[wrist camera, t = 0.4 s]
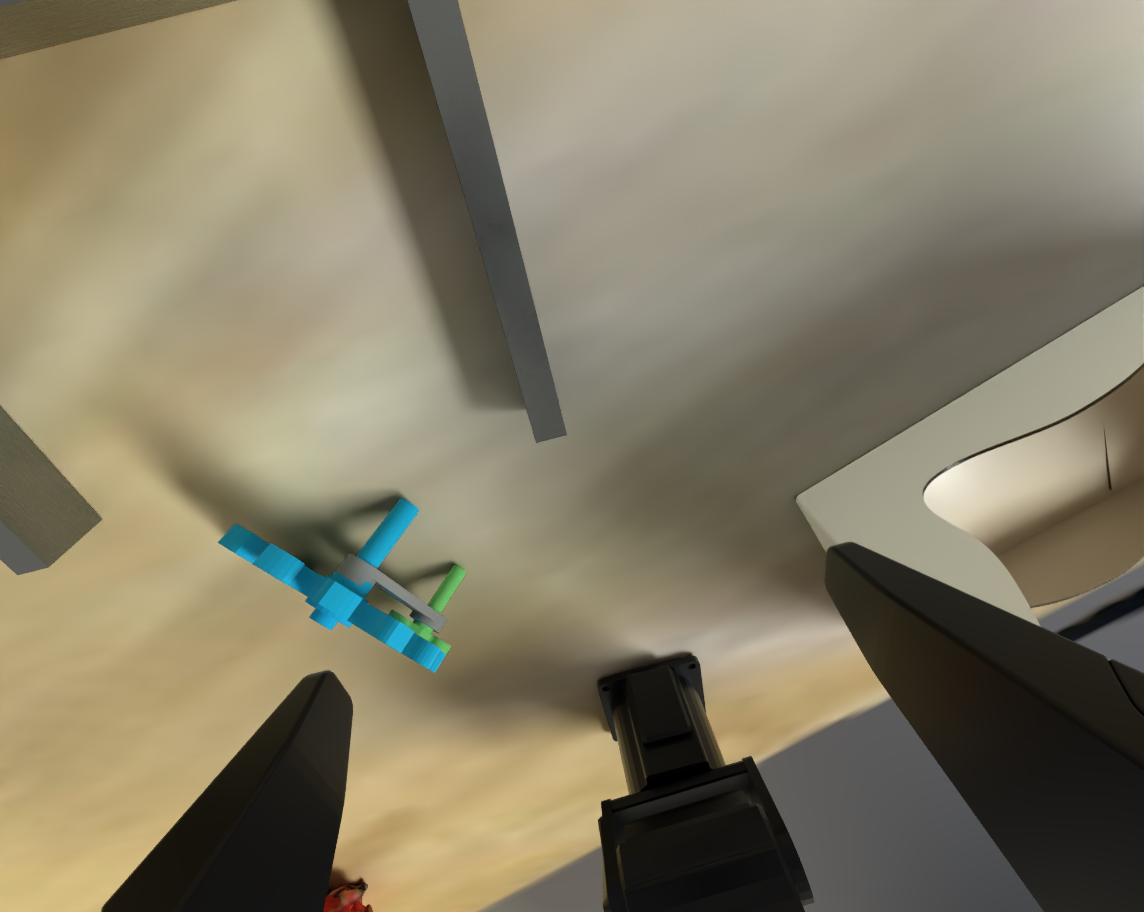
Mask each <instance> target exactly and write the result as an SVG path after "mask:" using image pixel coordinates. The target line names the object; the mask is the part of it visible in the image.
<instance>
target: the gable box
mask: <svg viewBox="0 0 1144 912" xmlns="http://www.w3.org/2000/svg"><path fill="white" fill-rule="evenodd" d="M796 502H797V504H798V506H799V507H800V509H801V511H802V512H803V514H804V516H805V517H806V519H807V521H808V523H809V524H810V526H811V528H812V529H813V531H814V533H815V535H816V536H817V538H818V540H819V541H820V543H821V545H822V547H823V548H824V550H825V552H826V551H827V549H828V548H829V547H830V546H833V545H837V544H841V543H845V542H854V543H857V544H859V545H861V546H864V547H866V548H868V549H870V550H872V551H875V552H877V553H879V554H881V555H883V556H886V557H888V558H890V559H892V560H894V561H897V562H899V563H901V564H903V565H906V566H908V567H910V568H912V569H914V570H917V571H919V572H921V573H923V574H925V575H928V576H930V577H932V578H934V579H936V580H939V581H941V582H943V583H945V584H948V585H950V586H952V587H954V588H956V589H959V590H961V591H963V592H965V593H967V594H970V595H972V596H974V597H976V598H978V599H981V600H983V601H985V602H987V603H990V604H992V605H994V606H996V607H998V608H1001V609H1003V610H1005V611H1007V612H1009V613H1012V614H1014V615H1016V616H1018V617H1020V618H1023V619H1025V620H1027V621H1029V622H1031V623H1034V624H1036V625H1038V626H1040V625H1039V623H1038V621H1037V619H1036V617H1035V615H1034V614H1033V612H1032V610H1031V608H1035V607H1040V606H1045V605H1049V604H1053V603H1057V602H1061V601H1064V600H1068V599H1071V598H1074V597H1077V596H1079V595H1082V594H1085V593H1087V592H1090V591H1092V590H1094V589H1097V588H1099V587H1101V586H1103V585H1105V584H1107V583H1109V582H1111V581H1113V580H1115V579H1116V578H1118V577H1120V576H1121V575H1123V574H1124V573H1125V572H1127V571H1128V570H1129V569H1131V568H1132V567H1133V566H1134V565H1136V564H1137V563H1138V562H1139V561H1140V560H1141V559H1142V558H1143V557H1144V286H1143V287H1141V288H1140V289H1138V290H1136V291H1135V292H1133V293H1131V294H1130V295H1128V296H1126V297H1125V298H1123V299H1121V300H1120V301H1118V302H1116V303H1115V304H1113V305H1111V306H1110V307H1108V308H1106V309H1105V310H1103V311H1102V312H1100V313H1098V314H1097V315H1095V316H1093V317H1092V318H1090V319H1088V320H1087V321H1085V322H1083V323H1082V324H1080V325H1078V326H1077V327H1075V328H1073V329H1072V330H1070V331H1069V332H1067V333H1065V334H1064V335H1062V336H1060V337H1059V338H1057V339H1055V340H1054V341H1052V342H1050V343H1049V344H1047V345H1045V346H1044V347H1042V348H1040V349H1039V350H1037V351H1035V352H1034V353H1032V354H1031V355H1029V356H1027V357H1026V358H1024V359H1022V360H1021V361H1019V362H1017V363H1016V364H1014V365H1012V366H1011V367H1009V368H1007V369H1006V370H1004V371H1002V372H1001V373H999V374H998V375H996V376H994V377H993V378H991V379H989V380H988V381H986V382H984V383H983V384H981V385H979V386H978V387H976V388H974V389H973V390H971V391H969V392H968V393H966V394H964V395H963V396H961V397H960V398H958V399H956V400H955V401H953V402H951V403H950V404H948V405H946V406H945V407H943V408H941V409H940V410H938V411H936V412H935V413H933V414H931V415H930V416H928V417H926V418H925V419H923V420H922V421H920V422H918V423H917V424H915V425H913V426H912V427H910V428H908V429H907V430H905V431H903V432H902V433H900V434H898V435H897V436H895V437H893V438H892V439H890V440H889V441H887V442H885V443H884V444H882V445H880V446H879V447H877V448H875V449H874V450H872V451H870V452H869V453H867V454H865V455H864V456H862V457H860V458H859V459H857V460H855V461H854V462H852V463H851V464H849V465H847V466H846V467H844V468H842V469H841V470H839V471H837V472H836V473H834V474H832V475H831V476H829V477H827V478H826V479H824V480H822V481H821V482H819V483H818V484H816V485H814V486H813V487H811V488H809V489H808V490H806V491H804V492H803V493H801V494H799V495H798V496H797V498H796ZM1040 627H1041V626H1040Z"/></svg>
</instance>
